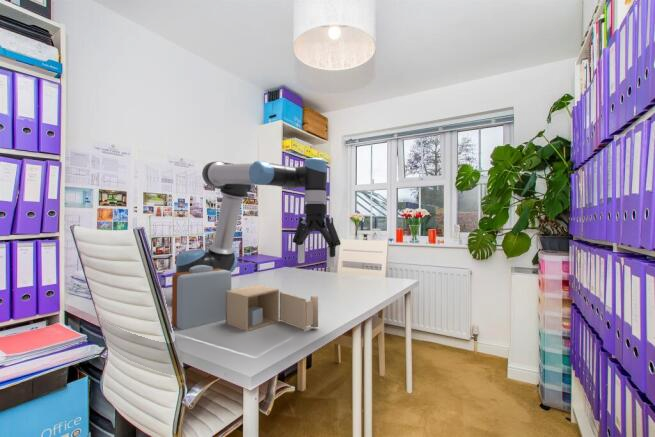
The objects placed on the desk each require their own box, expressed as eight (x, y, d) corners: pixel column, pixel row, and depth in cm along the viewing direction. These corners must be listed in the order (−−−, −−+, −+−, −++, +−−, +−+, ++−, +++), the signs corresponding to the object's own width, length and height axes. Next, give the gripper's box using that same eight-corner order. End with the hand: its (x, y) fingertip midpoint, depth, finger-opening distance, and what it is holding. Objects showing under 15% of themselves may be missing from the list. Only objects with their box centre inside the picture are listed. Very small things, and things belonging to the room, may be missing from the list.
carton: (226, 324, 111) (226, 290, 111) (258, 315, 121) (258, 284, 121) (246, 332, 103) (246, 296, 103) (278, 322, 114) (278, 289, 114)
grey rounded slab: (221, 314, 123) (221, 262, 123) (232, 319, 116) (232, 264, 116) (171, 325, 110) (171, 267, 110) (180, 332, 103) (180, 270, 103)
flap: (306, 330, 102) (306, 299, 102) (279, 319, 113) (279, 292, 113) (319, 326, 107) (319, 296, 107) (291, 316, 117) (292, 289, 117)
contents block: (242, 323, 110) (242, 309, 110) (252, 319, 115) (252, 305, 115) (252, 325, 108) (252, 311, 108) (262, 321, 112) (262, 307, 112)
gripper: (351, 202, 103) (350, 267, 103) (297, 204, 119) (297, 260, 119) (337, 201, 98) (336, 269, 97) (283, 204, 114) (282, 262, 113)
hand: (315, 264), depth 108 cm, fingers open, 13 cm apart
